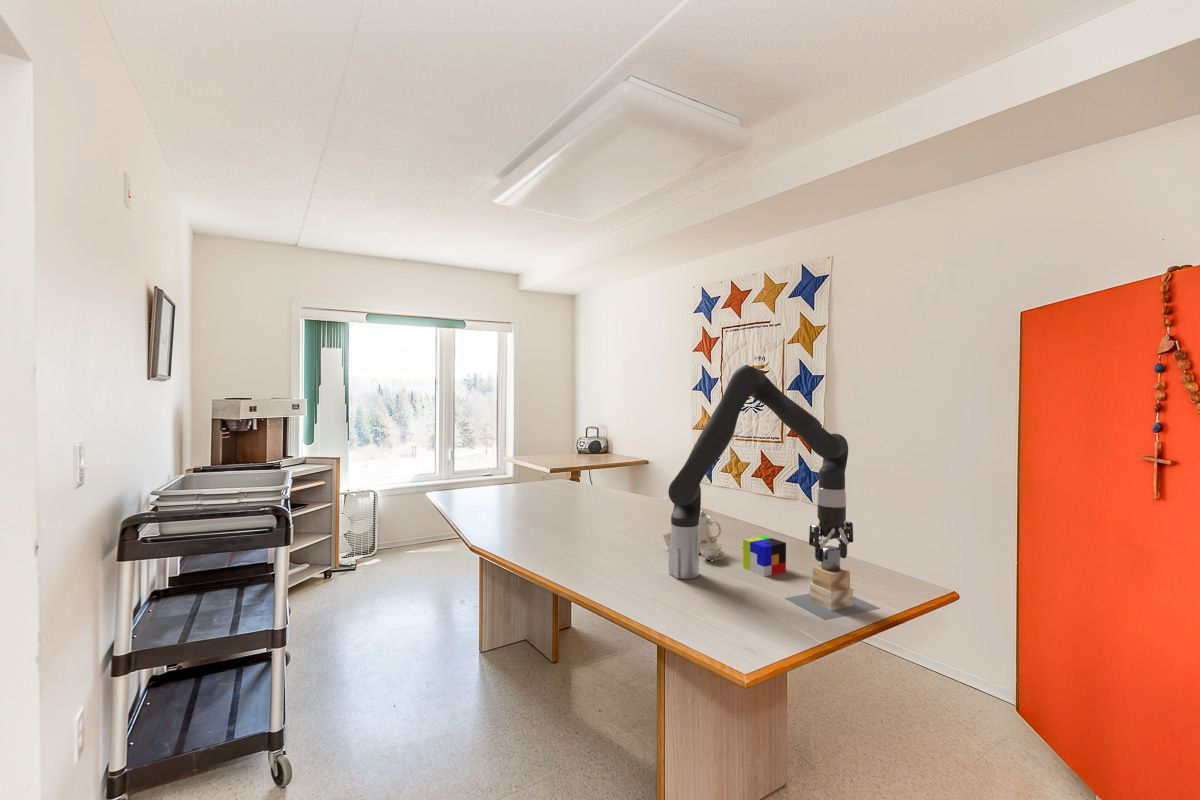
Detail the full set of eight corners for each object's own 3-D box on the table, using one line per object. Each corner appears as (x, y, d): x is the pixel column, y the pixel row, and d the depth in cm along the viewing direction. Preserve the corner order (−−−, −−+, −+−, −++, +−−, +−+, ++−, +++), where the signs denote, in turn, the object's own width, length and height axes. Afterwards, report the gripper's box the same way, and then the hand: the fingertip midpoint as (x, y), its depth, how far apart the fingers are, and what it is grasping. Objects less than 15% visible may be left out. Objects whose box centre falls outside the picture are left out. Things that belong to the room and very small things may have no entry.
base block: (831, 610, 150) (831, 592, 149) (810, 600, 157) (810, 583, 157) (852, 606, 152) (852, 588, 152) (831, 596, 160) (831, 579, 160)
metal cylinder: (830, 572, 151) (830, 551, 151) (817, 567, 156) (817, 546, 156) (844, 570, 153) (844, 549, 153) (830, 565, 158) (830, 544, 158)
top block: (830, 592, 150) (831, 574, 150) (812, 583, 157) (812, 566, 156) (849, 588, 153) (850, 571, 152) (831, 580, 159) (831, 563, 159)
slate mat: (825, 622, 144) (825, 619, 144) (784, 600, 158) (784, 598, 158) (880, 610, 151) (880, 608, 151) (836, 590, 166) (836, 588, 166)
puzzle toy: (764, 576, 178) (764, 546, 178) (743, 567, 187) (743, 539, 187) (785, 571, 183) (786, 542, 183) (764, 563, 192) (764, 535, 192)
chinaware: (655, 553, 209) (652, 512, 207) (680, 540, 221) (677, 501, 219) (718, 570, 190) (715, 524, 188) (741, 554, 202) (739, 512, 200)
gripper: (822, 508, 148) (821, 566, 148) (860, 503, 153) (860, 560, 154) (802, 502, 155) (802, 558, 155) (840, 498, 160) (839, 552, 161)
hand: (831, 559), depth 154 cm, fingers open, 8 cm apart
